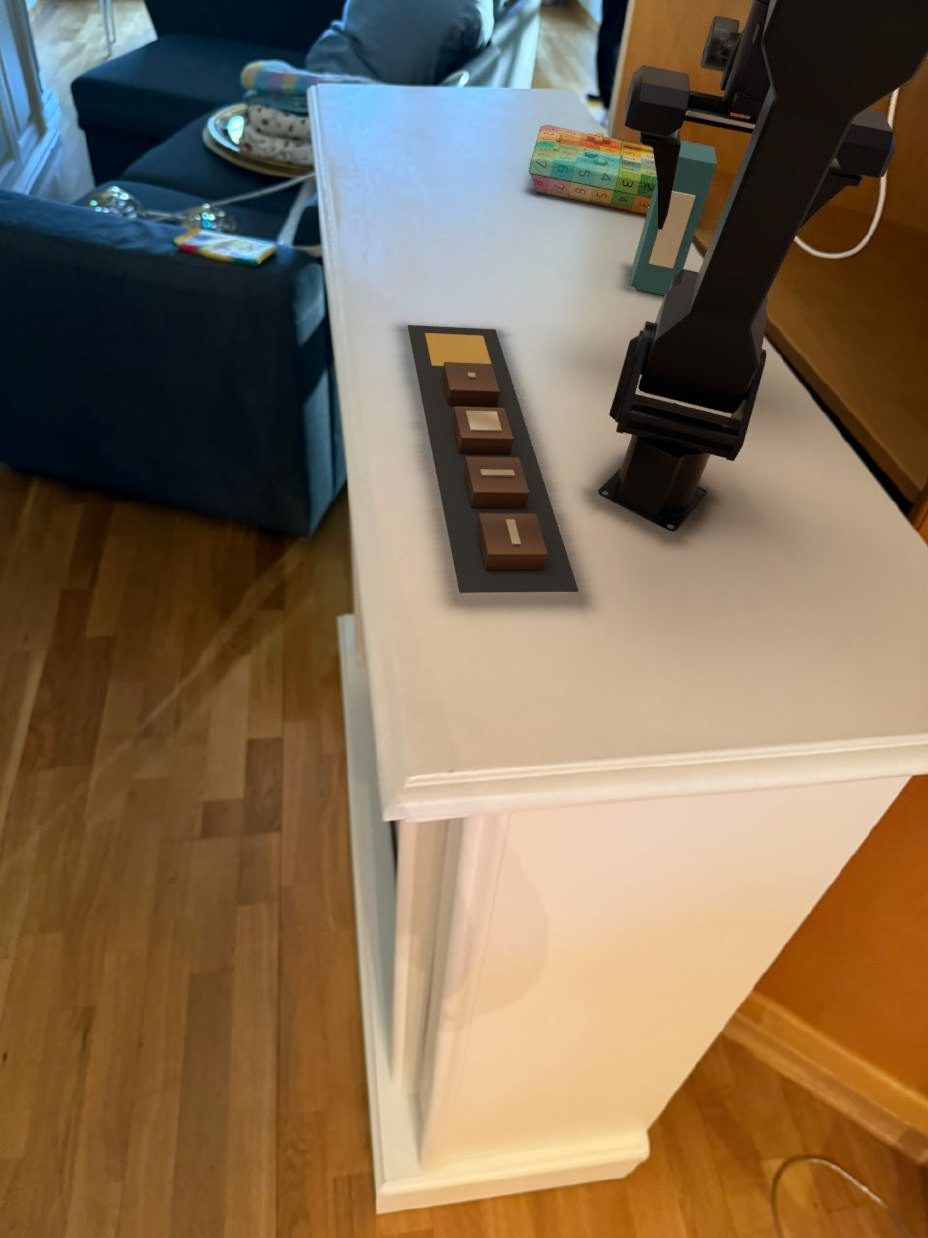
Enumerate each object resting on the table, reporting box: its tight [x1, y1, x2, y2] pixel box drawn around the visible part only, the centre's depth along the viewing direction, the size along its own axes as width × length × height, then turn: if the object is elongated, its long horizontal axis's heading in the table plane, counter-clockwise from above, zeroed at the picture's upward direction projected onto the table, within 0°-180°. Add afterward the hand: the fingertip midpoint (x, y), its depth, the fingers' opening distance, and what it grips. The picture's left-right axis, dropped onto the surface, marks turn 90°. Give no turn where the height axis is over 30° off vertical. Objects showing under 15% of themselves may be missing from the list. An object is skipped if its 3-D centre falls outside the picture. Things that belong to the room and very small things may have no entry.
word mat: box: [407, 324, 579, 594], centre depth 69 cm, size 33×8×1 cm, turn 8°
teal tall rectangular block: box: [630, 139, 718, 296], centre depth 88 cm, size 5×4×13 cm
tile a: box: [476, 513, 548, 570], centre depth 60 cm, size 4×4×2 cm
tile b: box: [463, 457, 529, 508], centre depth 64 cm, size 4×4×2 cm
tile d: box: [442, 362, 500, 407], centre depth 73 cm, size 4×4×2 cm
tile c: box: [452, 406, 513, 454], centre depth 69 cm, size 4×4×2 cm
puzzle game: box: [528, 124, 657, 215], centre depth 106 cm, size 12×5×20 cm
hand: (716, 238), depth 70 cm, fingers open, 9 cm apart
